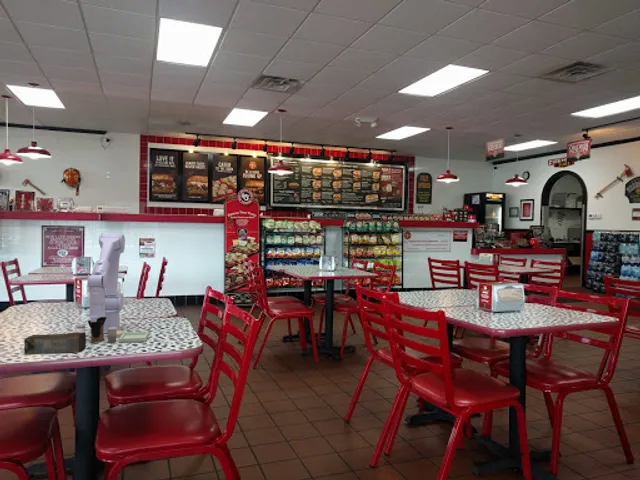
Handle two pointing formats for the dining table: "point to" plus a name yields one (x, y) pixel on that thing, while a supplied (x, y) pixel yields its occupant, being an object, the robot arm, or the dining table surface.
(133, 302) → the dining table surface
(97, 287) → the robot arm
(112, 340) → the pepper shaker
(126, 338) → the basket tray
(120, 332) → the sauce cup
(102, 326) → the walnut block
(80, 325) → the salt shaker
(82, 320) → the dining table surface
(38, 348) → the beverage carton
